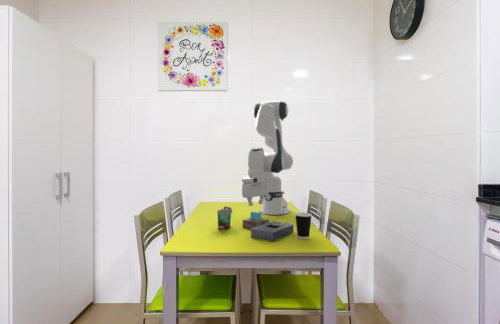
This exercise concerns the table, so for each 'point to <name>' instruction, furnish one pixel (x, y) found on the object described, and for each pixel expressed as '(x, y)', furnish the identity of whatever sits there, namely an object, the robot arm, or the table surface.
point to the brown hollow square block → (254, 223)
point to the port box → (272, 231)
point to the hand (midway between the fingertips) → (255, 204)
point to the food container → (224, 218)
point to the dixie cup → (303, 224)
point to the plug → (256, 216)
